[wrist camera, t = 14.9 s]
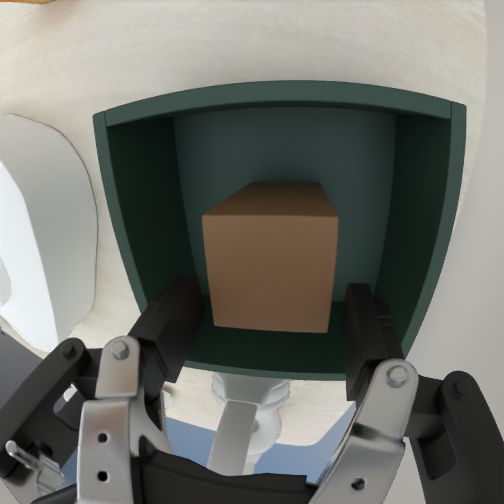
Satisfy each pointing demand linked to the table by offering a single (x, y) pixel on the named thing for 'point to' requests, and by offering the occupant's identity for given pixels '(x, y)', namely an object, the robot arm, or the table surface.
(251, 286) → the carton
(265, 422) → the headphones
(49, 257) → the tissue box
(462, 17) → the table surface
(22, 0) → the small box
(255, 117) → the bin
